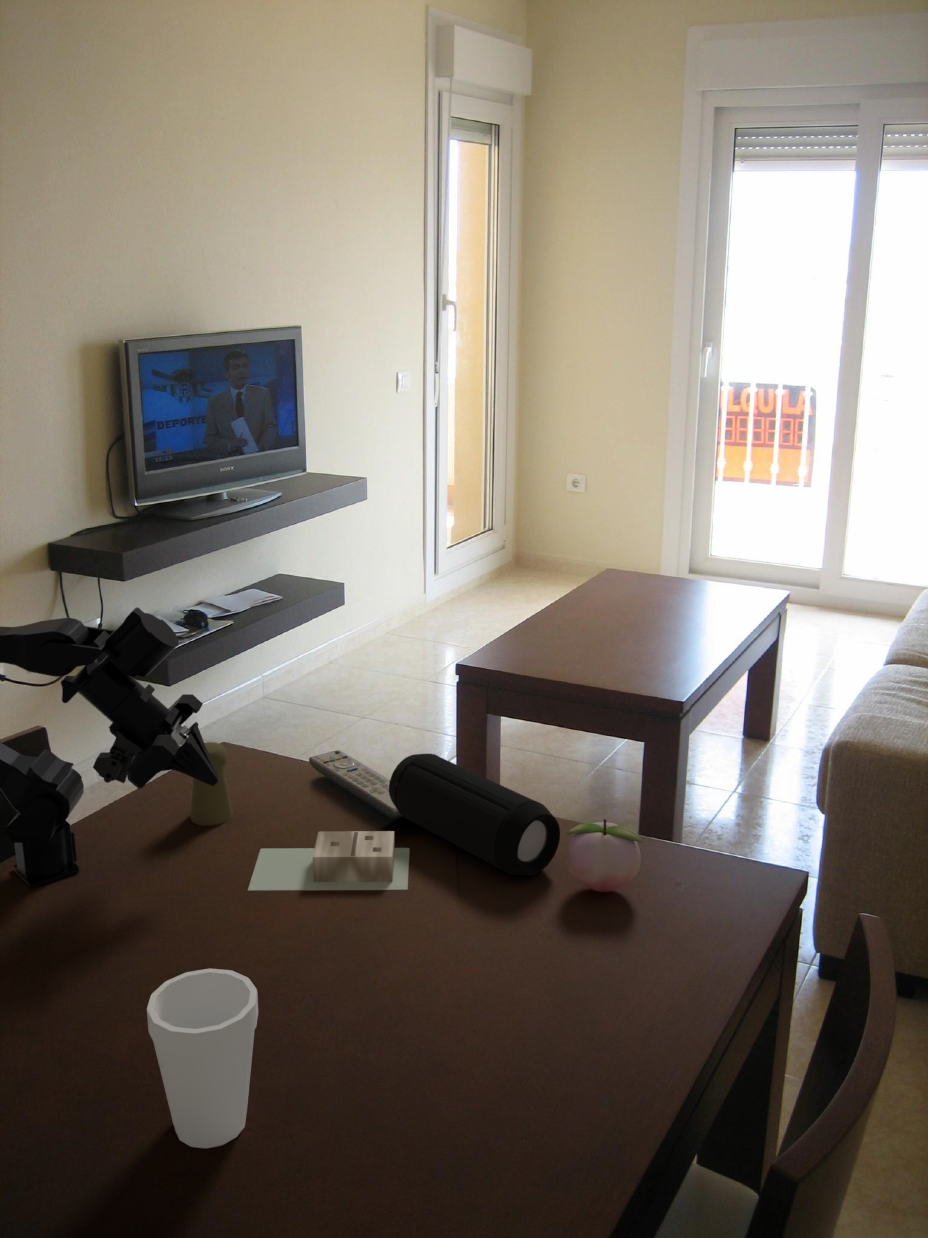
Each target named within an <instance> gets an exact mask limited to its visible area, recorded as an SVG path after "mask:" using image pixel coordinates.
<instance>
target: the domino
mask: <svg viewBox="0 0 928 1238" xmlns="http://www.w3.org/2000/svg"><path fill="white" fill-rule="evenodd" d="M315 840H316V841H315V844H314V848H315V849H314V854H313V877H314V882H391V881H393V869H394V856H395V851H394V848H395V831H394V830H392V831H391V830H378V831H376V830H374V831H373V830H372V831H371V830H370V831H369V830H367V831H365V830H363V831H361V830H359V831H357V830H356V831H353V830H352V831H351V830H349V831H347V830H346V831H345V830H343V831H342V830H341V831H329V830H328V831H323V830H321V831H318V832H317V837H316V839H315Z"/></svg>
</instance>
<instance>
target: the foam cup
mask: <svg viewBox="0 0 928 1238" xmlns="http://www.w3.org/2000/svg"><path fill="white" fill-rule="evenodd" d="M258 998H259V997H258V989H257V988H256V986H255V984H253V982H252V981H251V979H250V978H249V977H247V976H245V975H243V974H241V973H238V972H236V971H234V970H232V969H231V970H230V969H219V968H205V969H197V970H193V971H185V972H184V973H182V974H179V975H176V976H175V977H173V978H169V979H168V980H165V981H164V982H163V983H162V984H161V985H160V986H159V987H158V988H156V989H155V990H154V991H153V992H151V994H150V998H149V1001H148V1004H147V1006H146V1016H147V1026H148V1027H147V1028H148V1034H149V1036H150V1038H151V1039H152V1042H153V1045H154V1050H155V1054H156V1059H157V1062H158V1067H159V1069H160V1070H159V1071H160V1075H161V1079H162V1083H163V1087H164V1091H165V1095H166V1101H167V1103H168V1108H169V1112H170V1115H171V1120H172V1124H173V1127H174V1131H175V1133H176V1135H177V1137H178V1140H179V1141H180V1142H182V1143H184V1144H186V1145H187V1146H189V1147H191V1148H199V1149H210V1148H216V1147H220V1146H223V1145H226V1144H227V1143H229V1142H230V1141H232V1140H234V1139H235V1138H237V1137H238V1136H239V1135H240V1134H241V1132H242V1131H243V1130H244V1129H245V1127H246V1121H247V1120H246V1119H247V1113H248V1112H247V1111H248V1104H249V1103H248V1102H249V1093H250V1082H251V1081H250V1079H251V1072H252V1071H251V1070H252V1062H253V1061H252V1059H253V1050H254V1049H253V1048H254V1039H255V1029H257V1023H258V1019H259V1018H258V1017H259V1000H258Z"/></svg>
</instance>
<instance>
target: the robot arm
mask: <svg viewBox="0 0 928 1238" xmlns="http://www.w3.org/2000/svg"><path fill="white" fill-rule="evenodd" d="M179 644H180V643H179V638H178V636H177V634H176V632H175V631H174V630H173V629H172V627H171V626H170V624H168V623H167V622H166V621H165V620H163V619H162V618H161V619H160V618H159V617H157V616H155V615H153V614H151V613H146V612H144V611H143V610H142V609H141V608H139V607H135V608H134V609H133V610H132V611H131V612H130V613H129V614H128V615H127V616H126V617H125V619H124V621H123V622H122V623H121V624H120V625H119V626H118V627H117V628H116V629H115V630H114V629H108V628H102V627H101V628H100V627H95V626H94V627H93V626H87V625H84V623H83V622H82V621H81V620H79V619H78V618H77V619H76V618H72V617H62V618H56V619H54V618H53V619H47V620H41V621H40V620H39V621H37V622H33V623H28V624H25V625H19V626H0V664H7V665H12V666H16V667H18V668H20V669H22V670H25V671H27V672H28V673H33V674H34V673H35V674H39V675H43V676H44V675H45V676H50V677H55V678H59V677H64V676H65V677H64V678H62V680H61V681H60V685H61V688H62V689H61V690H62V691H61V692H62V693H61V701H62V703H63V704H67V703H69V702H70V701H71V700H72V699H73V698H74V697H75V696H76V695H77V694H79V695H80V696H81V697H82V698H83V699H85V700H86V701H87V702H88V703H89V704H90V705H92V706H93V707H94V708H95V709H96V710H98V711H99V712H100V713H101V714H102V715H103V716H105V717H106V719H107V720H109V721H110V722H111V724H110V725H109V726H108V729H109V732H110V734H112V735H113V736H114V738H115V740H114V742H113V743H112V746H111V747H110V749H109V751H106V752H105V751H104V752H100V753H99V754H98V756H97V757H96V758H95V761H94V763H93V766H92V768H93V769H94V770H95V772H96V773H97V774H98V776H99V777H101V778H103V781H104V782H105V783H108V784H109V783H111V782H112V781H113V782H114V781H116V782H120V783H122V784H125V783H126V781H127V780H128V782H129V783H131V784H132V785H133V786H134V787H136V789H138V790H141V789H142V788H144V786H146V785H148V783H149V782H150V781H151V780H152V779H153V778H154V777H155V776H157V774H159V773H161V772H165V771H176V772H179V773H181V774H184V775H186V776H188V777H191V778H195V779H197V780H199V781H202V782H204V783H206V784H208V785H211V786H214V785H215V784H216V783H217V782H218V781H219V776H218V774H217V772H216V770H215V767H214V765H213V763H212V760H211V758H210V756H209V753H208V751H207V749H206V746H205V744H204V743H205V741H204V738H203V736H202V734H201V731H200V728H199V723H198V721H195V722H193V724H192V725H190V727H188V726H186V725H185V724H184V723H186V721H187V720H188V719H189V718H190V717H191V716H192V715H193V714H197V713H198V712H200V710H201V708H202V707H203V704H204V703H203V702H202V701H200V700H199V698H197V697H196V696H195V695H194V694H193V693H192V694H188V693H186V694H181V696H179V698H178V699H176V700H175V701H174V703H173V704H171V706H169V707H167V706H166V705H164V703H163V702H161V700H159V699H158V698H157V697H155V696H154V695H153V694H154V692H155V688H154V687H153V686H152V685H151V684H150V683H149V684H147V685H146V686H145V687H144V686H143V685H142V684H141V683H140V682H139V681H138V680H137V679H136V677H137V676H138V677H144V678H146V677H148V675H150V673H151V672H153V671H154V670H155V668H157V667H159V665H160V664H161V663H162V661H164V660H165V659H166V658H167V657H168V656H169V655H170V654H171V653H172V652H173V651H174V650H175V649H176V648H178V646H179ZM103 653H104V654H105V653H106V656H105V657H104V659H103V660H102V661H100V662H99V661H96V660H98V658H100V656H101V655H102V654H103ZM77 667H82V668H81V669H80V670H79V671H78V672H77V673H76V674H75V675H69V674H71V673H72V672H73V671H75V669H76V668H77ZM183 724H184V725H183ZM182 725H183V726H182ZM74 765H75V764H74V763H73V762H69V761H65V760H64V759H61V758H60V757H58V755H56V754H54V752H52V751H50V750H48V749H46V748H45V749H43V750H42V752H41V753H40V754H39V755H38V757H37V756H32V755H31V756H30V755H24V754H21V753H19V752H17V751H16V750H15V749H12V748H11V747H9V746H8V745H5V744H4V743H2V742H0V791H1V792H2V793H3V795H4V797H5V798H6V800H7V801H8V802H9V804H10V805H11V807H12V809H14V810H15V811H16V812H17V813H16V815H15V816H14V817H13V818H12V820H11V821H10V822H9V824H8V825H7V826H6V827H5V831H6V833H7V835H8V837H9V839H10V841H11V843H14V850H15V859H16V863H15V864H13V865H12V871H14V873H16V875H18V876H19V877H20V878H21V879H22V880H23V881H24V882H25V883H26V885H28V887H31V888H35V887H37V886H40V885H41V886H42V885H43V884H46V883H50V882H52V881H56V880H58V879H63V878H64V877H68V876H70V875H73V874H77V873H79V872H80V871H81V869H80V866H79V865H78V864H77V861H78V853H77V852H78V849H77V840H76V832H74V831H73V830H71V823H70V822H68V821H67V819H68V818H69V817H70V814H71V813H72V812H73V810H74V809H75V808H76V806H77V805H78V803H79V802H80V800H81V798H82V796H84V795H83V794H84V791H85V789H84V782H83V777H82V775H81V774H80V773H79V772H78V771H77V770H76V769H74V768H73V766H74Z"/></svg>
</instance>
